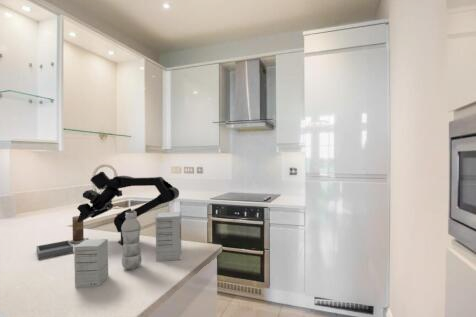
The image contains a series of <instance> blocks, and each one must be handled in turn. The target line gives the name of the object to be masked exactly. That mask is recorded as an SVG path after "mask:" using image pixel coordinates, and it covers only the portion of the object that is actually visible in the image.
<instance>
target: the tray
mask: <svg viewBox="0 0 476 317" xmlns="http://www.w3.org/2000/svg"><path fill="white" fill-rule="evenodd" d="M71 253H74V245H73V244H71V243H70V240H69V239H68V240H63V241H62V240H61V241H57V242H52V243H47V244H42V245H36V254H37V259H38V260H43V259H48V258H53V257H58V256H62V255H66V254H71Z"/></svg>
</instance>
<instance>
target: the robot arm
mask: <svg viewBox="0 0 476 317" xmlns="http://www.w3.org/2000/svg"><path fill="white" fill-rule="evenodd" d="M90 182H91V183H92V184H93V185H94V186H95V187H96V188H97V189H98V190H99V191H100V190H102V192H100V193H99V192H98V191H96V190H93V189H88V190H85V191H84V192H83V193H82V197H83V198H84V199H86V200H89V203H87V202H86V203H81V204H79V205H78V206H77V208H76V210H78V211H79V215H78V216H79V218H78V220H77V222H78V223H79V222H81V221H83V222H84V221H85V220H87V219H90V218H92V219H93V218H95V217H97V216H101V215H103V214H105V213H106V212H109V211H111V210H112V209H113V208H114V204H113V203H112V202H113V199H114V198H115V197H117V198H119V197H122V196H123V191H122V190H120V189H122V188H127V187H138V186H139V187H141V186H142V187H143V186H147V187H149V186H154V187H155V188H156V189H157V190H158V193H159V195H157V197H155V198H153V199H152V200H150V201H147V202H146V203H143V204H142V205H140V206H138V207H137V208H134V209H133V210H132V209H131V208H128V209H125V210H123V211H121V212H120V213H117V214H116V216H115V217H114V218H113V224H114V226H115V228H116V230H117V233H120V240H118V242H117V243H118V244H120V245H121V246H123V236H122V231H121V227H122V224H123V223H124V221H125V220H126V218H125V215H126V214H125V213H126V212H129V211H136V212H137V217H136V219H137V218H139V217H140V216H141V215H143V214H145V213H147V212H149V211H151V210H152V209H155V208H157V207H158V206H160V205H162V204H166V203H169V202H172V201H174V200H176V199H178V198H179V196H180V190H179V189H178V188H177V187H174V186H173V185H172V184H171V183H169V182H168V181H166V180H165V179H164V178H163V177H162V176H155V177H153V176H152V177H132V176H129V175H118V176H117V175H116V176H113V178H110V177H109V176H107V174H106V173H105V171H100V172H99V173H96V174H95V175H93V176H91V178H90ZM90 204H91V205H92V206H91V205H90Z"/></svg>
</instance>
